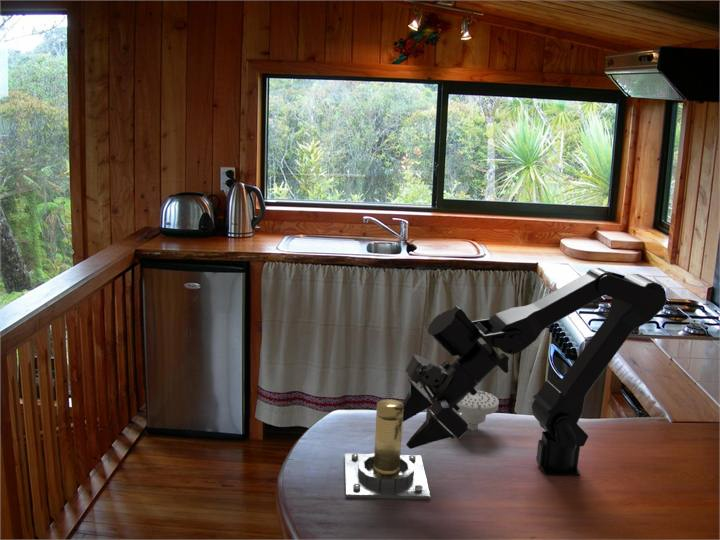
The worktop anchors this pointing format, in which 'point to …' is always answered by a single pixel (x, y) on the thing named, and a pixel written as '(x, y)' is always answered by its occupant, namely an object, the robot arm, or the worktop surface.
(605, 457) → the worktop surface
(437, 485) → the worktop surface
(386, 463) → the brass cylinder
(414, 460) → the floor flange
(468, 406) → the showerhead
